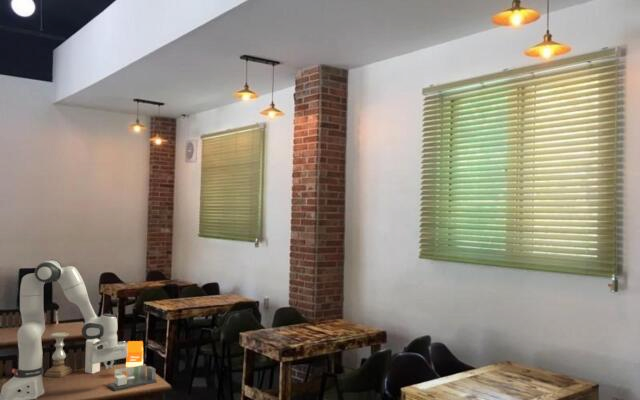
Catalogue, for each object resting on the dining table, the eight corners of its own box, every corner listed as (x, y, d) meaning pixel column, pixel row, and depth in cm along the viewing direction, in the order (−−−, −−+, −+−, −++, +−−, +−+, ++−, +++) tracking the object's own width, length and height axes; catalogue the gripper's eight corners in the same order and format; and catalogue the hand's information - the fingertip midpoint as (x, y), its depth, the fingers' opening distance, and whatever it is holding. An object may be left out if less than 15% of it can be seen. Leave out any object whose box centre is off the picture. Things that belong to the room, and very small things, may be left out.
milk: (92, 369, 331) (94, 333, 332) (100, 371, 329) (101, 334, 330) (84, 372, 326) (86, 335, 327) (92, 373, 323) (93, 336, 324)
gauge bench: (114, 391, 294) (115, 375, 294) (107, 386, 302) (108, 370, 302) (156, 382, 310) (157, 367, 310) (148, 378, 318) (149, 363, 318)
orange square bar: (125, 381, 305) (125, 372, 305) (124, 380, 306) (125, 371, 306) (127, 380, 306) (128, 371, 306) (126, 380, 307) (127, 371, 307)
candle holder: (61, 377, 315) (62, 336, 315) (44, 376, 316) (45, 335, 317) (72, 372, 326) (73, 332, 326) (55, 370, 327) (57, 331, 328)
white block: (117, 385, 297) (118, 378, 297) (113, 382, 302) (113, 375, 302) (135, 382, 304) (135, 375, 304) (130, 379, 309) (131, 372, 309)
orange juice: (127, 373, 326) (128, 339, 327) (142, 372, 328) (143, 339, 329) (125, 377, 319) (126, 343, 319) (141, 376, 320) (142, 342, 321)
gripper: (125, 339, 306) (125, 363, 305) (88, 345, 292) (87, 371, 292) (129, 341, 301) (129, 366, 301) (92, 347, 287) (91, 373, 287)
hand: (108, 368), depth 296 cm, fingers closed
